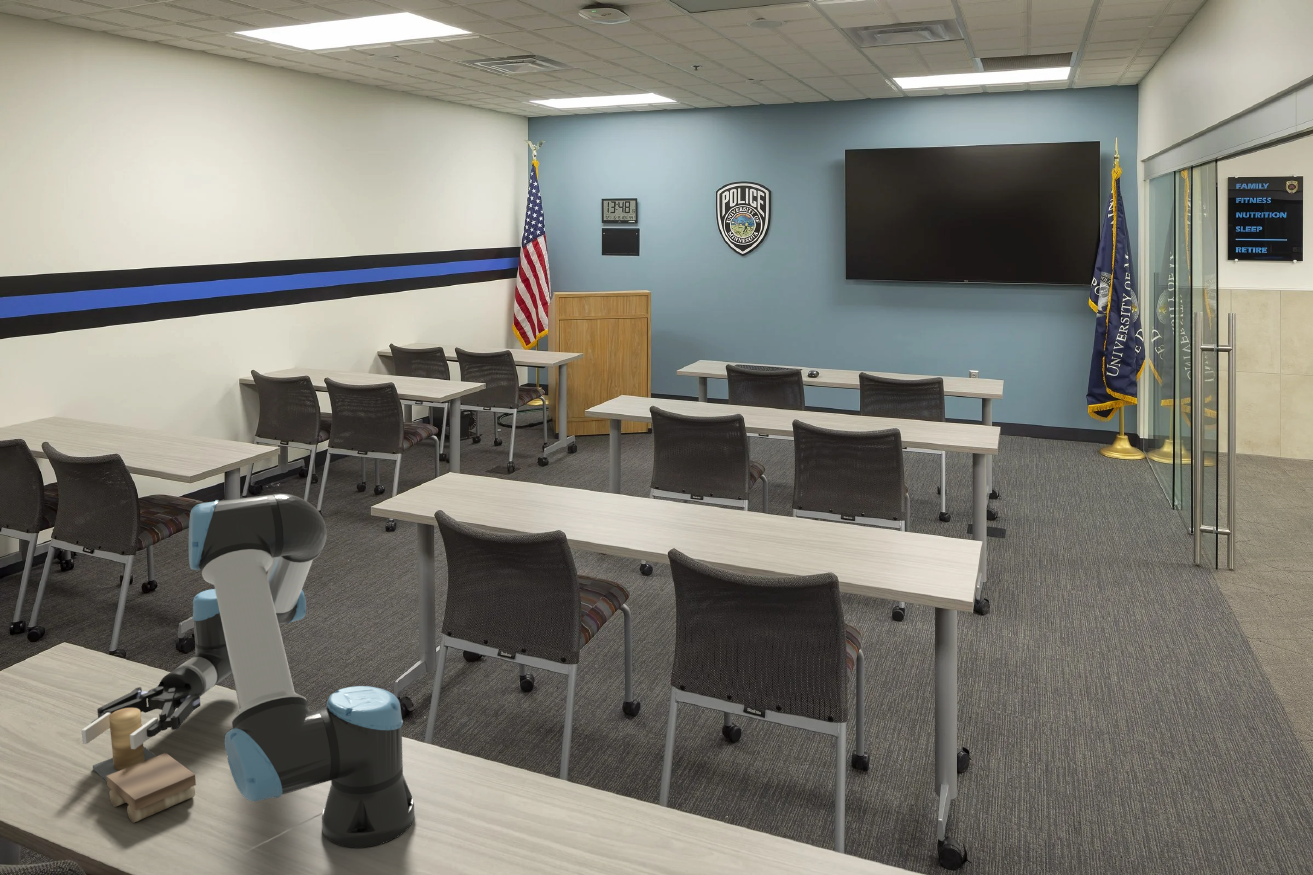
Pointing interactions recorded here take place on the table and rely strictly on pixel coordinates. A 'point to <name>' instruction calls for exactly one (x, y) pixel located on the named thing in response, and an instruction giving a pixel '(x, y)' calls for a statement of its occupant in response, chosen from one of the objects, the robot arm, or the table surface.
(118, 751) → the roller
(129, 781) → the slab
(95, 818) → the table surface
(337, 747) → the robot arm
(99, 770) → the pad
